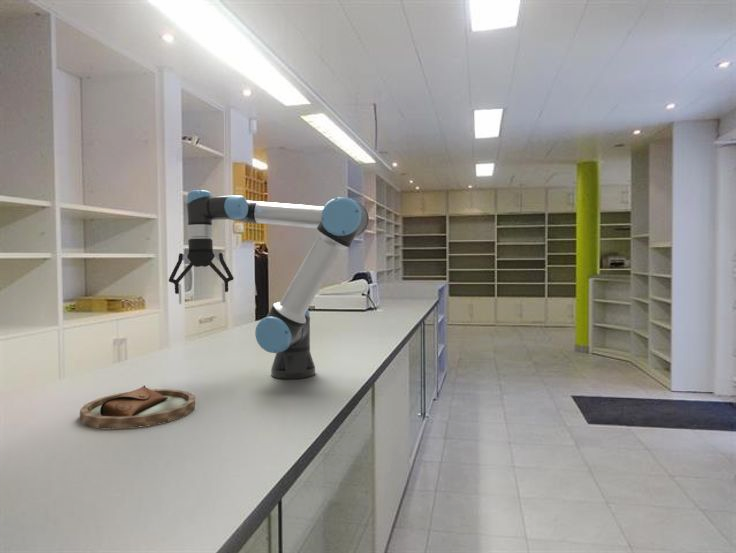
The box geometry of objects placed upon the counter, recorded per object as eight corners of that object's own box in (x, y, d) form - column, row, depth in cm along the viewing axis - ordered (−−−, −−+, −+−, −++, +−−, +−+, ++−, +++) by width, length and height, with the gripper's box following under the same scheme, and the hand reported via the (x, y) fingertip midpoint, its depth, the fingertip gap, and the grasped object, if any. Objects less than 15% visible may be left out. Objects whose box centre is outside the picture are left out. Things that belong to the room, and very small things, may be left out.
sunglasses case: (131, 416, 123) (118, 393, 124) (109, 430, 124) (95, 406, 125) (170, 397, 141) (158, 376, 141) (150, 409, 142) (138, 388, 142)
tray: (196, 394, 150) (196, 386, 150) (193, 422, 124) (193, 412, 124) (94, 402, 142) (94, 393, 142) (68, 434, 116) (68, 423, 116)
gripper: (238, 238, 174) (240, 300, 175) (159, 239, 166) (162, 304, 167) (240, 237, 167) (242, 301, 168) (158, 238, 159) (161, 305, 159)
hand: (202, 303), depth 167 cm, fingers open, 13 cm apart
